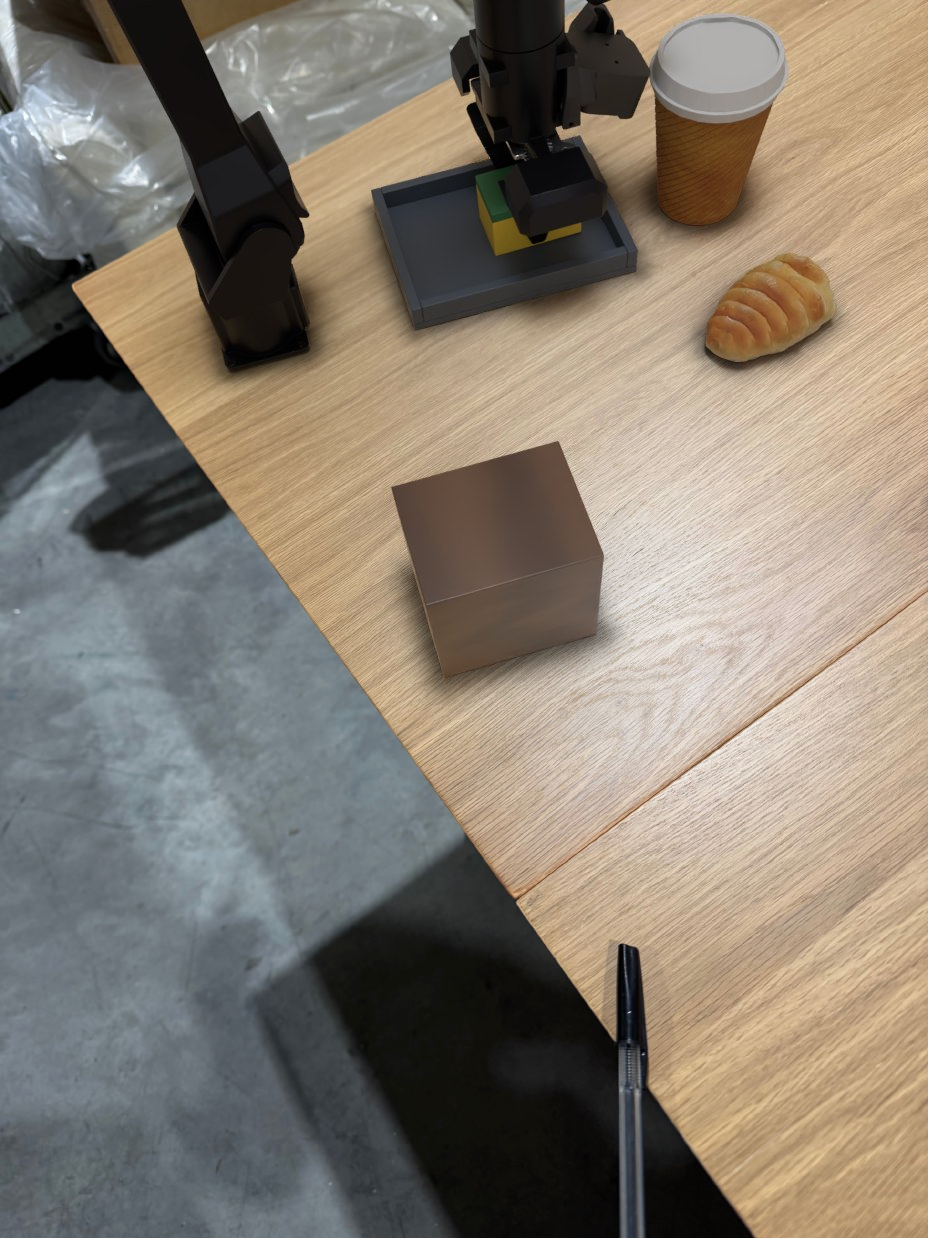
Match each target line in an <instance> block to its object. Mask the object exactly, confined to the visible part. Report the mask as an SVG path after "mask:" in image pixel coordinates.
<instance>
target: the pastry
mask: <svg viewBox="0 0 928 1238" xmlns="http://www.w3.org/2000/svg"><path fill="white" fill-rule="evenodd" d="M830 285H831V284H830V278H829V276H828V274H827V273H826V272H825V270H823V269H822V268H821V266H820V265H818V263H816V262H815V261H814V260H813V259H811V258H810V257H808V256H804V255H798V254H796V253H794V252H787V253H782V254H781V253H780V254H777V255H776V256H775V257H774V258H773V259H771V260H769V261H766V262H764V263H761V264H760V265H757V266H755V267H753V268H751V269H750V270H748V271H747V272H746V273H745V274H744V275H743V276H742V277H741V278H740V279H738V280H737V281H735V282H734V283H733V284H732V285H731V286H730V287H729V289H728V290H726V291H725V292H724V294H723V296H722V298H721V299H720V300H719V302H718V304H717V306H716V309H715V311H714V312H713V314H712V315H711V317H710V318H708V320H707V322H706V336H705V347H706V348H707V349H708V350H709V351H711V352H712V353H713V354H714V355H716V356H717V357H719V358H722V359H724V360H728V361H731V362H735V363H742V362H743V363H745V362H748V361H751V360H752V361H753V360H757V359H759V357H763V356H768V355H776V354H779V353H782V352H785V351H786V350H787V349H789V348H790V347H792V346H794V345H796V344H797V343H799V342H802V341H803V340H804V339H805V338H807V337H808V336H810V335H813V334H814V333H816V332H817V331H818V330H819V329H820V328H821V326H822V325H824V324H826V323H827V322H828V321H829V320H831V319H832V318H833V317H834V316H835V314H836V312H837V303H836V302H835V293H834V292H833V289H832V288H831V286H830Z"/></svg>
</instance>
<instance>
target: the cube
mask: <svg viewBox="0 0 928 1238" xmlns="http://www.w3.org/2000/svg"><path fill="white" fill-rule="evenodd" d="M566 458H567V457H566V455H565V453H564V450H563V448H562V446H561V443H560V441H559V440H557V441H553V442H549V443H546V444H545V443H544V444H542V445H538V446H535V447H531V448H527V449H524V450H519V451H517V452H513V453H509V454H506V455H501V456H498V457H495V458H491V459H488V460H487V459H486V460H484V461H480V462H477V463H473V464H469V465H465V466H461V467H459V468H456V469H451V470H448V471H445V472H444V471H443V472H440V473H436V474H433V475H430V476H426V477H422V478H419V479H415V480H412V481H408V482H404V483H401V484H397V485H393V486H391V488H390V489H391V493H392V496H393V501H394V505H395V508H396V512H397V516H398V520H399V524H400V527H401V530H402V535H403V538H404V543H405V545H406V551H407V554H408V558H409V561H410V565H411V568H412V572H413V576H414V579H415V583H416V586H417V590H418V593H419V597H420V600H421V603H422V606H423V607H422V608H423V610H424V614H425V618H426V622H427V624H428V628H429V632H430V635H431V638H432V642H433V644H434V648H435V652H436V654H437V655H436V656H437V660H438V662H439V666H440V669H441V673H442V676H443V678H448V677H451V676H454V675H455V676H456V675H458V674H459V675H460V674H462V673H464V672H469V671H472V670H476V669H480V668H483V667H486V666H490V665H493V664H497V663H501V662H504V661H508V660H511V659H515V658H517V657H521V656H525V655H528V654H531V653H535V652H539V651H542V650H545V649H546V650H547V649H549V648H553V647H556V646H560V645H563V644H566V643H570V642H574V641H577V640H580V639H584V638H587V637H591V636H594V635H597V632H598V631H597V630H598V620H599V612H600V610H599V609H600V602H601V591H602V580H603V572H604V571H603V570H604V561H605V554H604V551H603V548H602V546H601V543H600V540H599V539H598V536H597V533H596V531H595V528H594V526H593V523H592V521H591V518H590V516H589V513H588V511H587V508H586V506H585V503H584V501H583V498H582V496H581V493H580V490H579V488H578V486H577V483H576V481H575V478H574V476H573V473H572V470H571V467H570V465H569V463H568V461H567V459H566Z"/></svg>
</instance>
